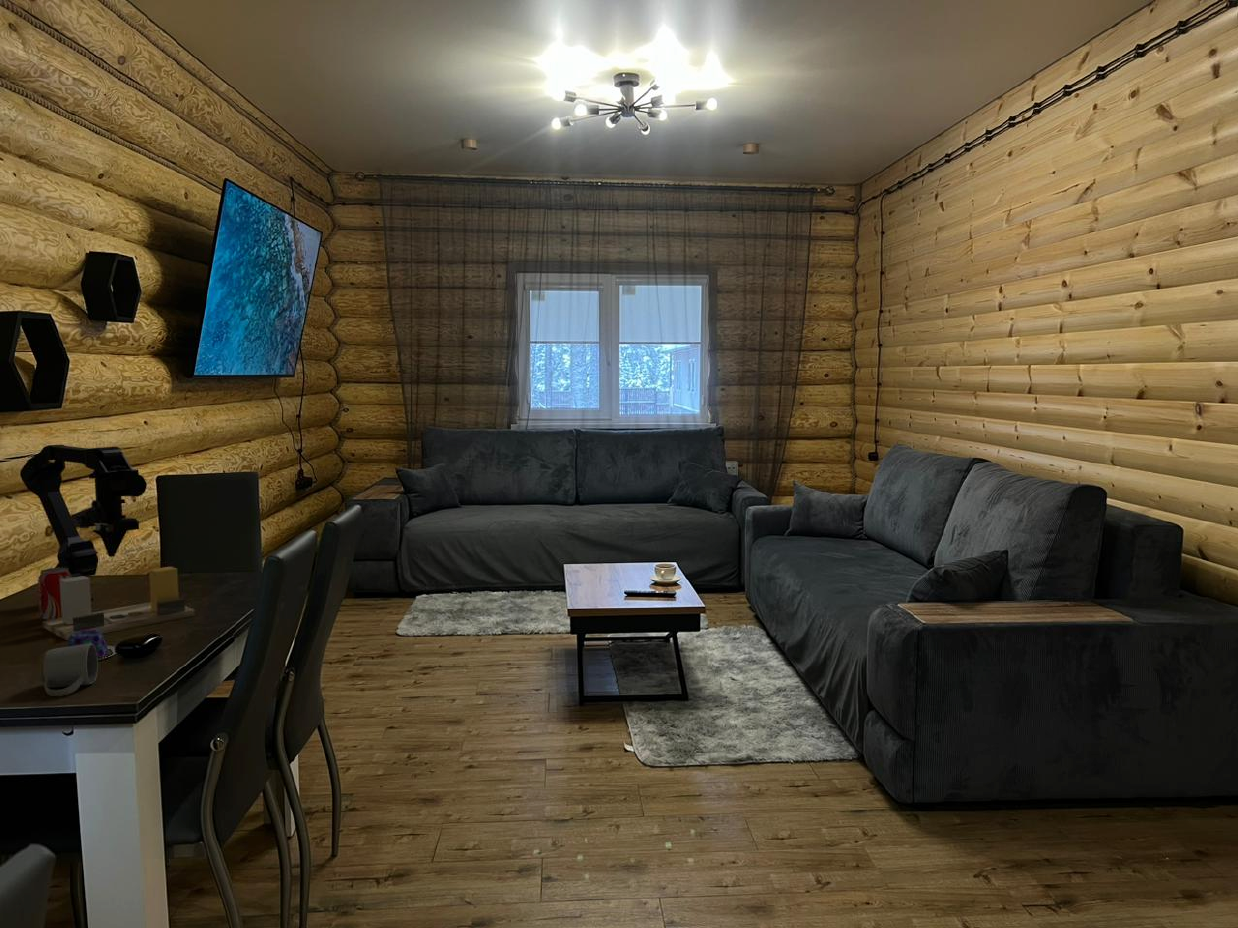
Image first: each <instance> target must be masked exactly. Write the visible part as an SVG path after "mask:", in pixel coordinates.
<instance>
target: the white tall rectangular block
mask: <svg viewBox="0 0 1238 928" xmlns="http://www.w3.org/2000/svg"><path fill="white" fill-rule="evenodd" d="M60 597H61V614H62V622H64V623H66V624H67V625H69V624H73V617H79V616H85V615H90V614H92V613H93V612H92V600H91V597H92V596H91V581H90V578H89V577H88V576H87V577H85V576H80V577H73V578H66V579H60Z"/></svg>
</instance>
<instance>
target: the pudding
mask: <svg viewBox="0 0 1238 928" xmlns="http://www.w3.org/2000/svg"><path fill="white" fill-rule="evenodd" d="M88 643H92V644H93V645H94V646H95V648H96V652H97V658H100V659H98V661H100V660H105V659H106V658H110V657H112V656H114V655H117V653H115V647H116V646H114V645H107V642H106V640H105V638H104V633H101V632H100V631H98V630H86V631H80V632H77V633H73V634H71V635H70V637H69V640H67V644H66V647H70V646H76V645H82V644H88ZM108 649H111V650H112V652H113V654H112V655H110V656H108V655H109V654H110V652H109V651H108ZM108 653H109V654H108ZM106 654H108V655H106ZM104 656H105V658H104ZM106 656H108V657H106ZM101 657H103V658H102V659H101Z"/></svg>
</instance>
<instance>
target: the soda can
mask: <svg viewBox="0 0 1238 928" xmlns="http://www.w3.org/2000/svg"><path fill="white" fill-rule="evenodd" d="M68 570H69V569H68V568H55V567H51V568H45V569H42V570H40V575H39V577H38V579H37V590H38V606H39V613H40V615H39V616H40V619H43V620H44V621H46V620H53V619H59V618H62V614H61V597H60V579H66V578H72V575H71V574H70V572H69V571H68Z"/></svg>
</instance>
